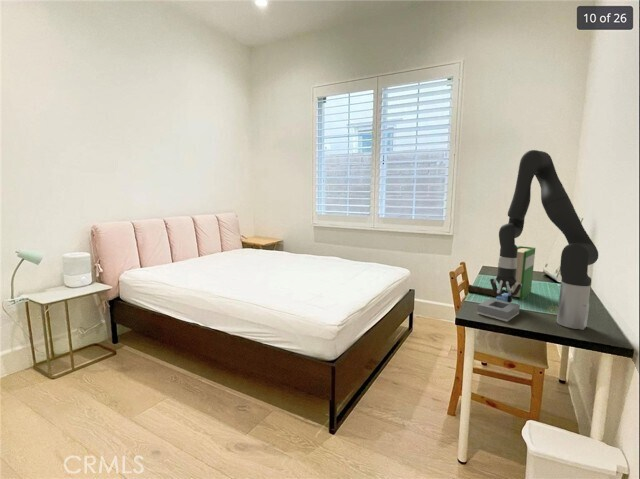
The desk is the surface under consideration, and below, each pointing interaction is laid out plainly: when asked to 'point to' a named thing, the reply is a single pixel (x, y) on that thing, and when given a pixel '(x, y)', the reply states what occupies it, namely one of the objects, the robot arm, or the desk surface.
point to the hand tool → (484, 290)
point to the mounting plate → (498, 309)
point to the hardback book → (524, 270)
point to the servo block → (503, 297)
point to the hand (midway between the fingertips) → (504, 301)
